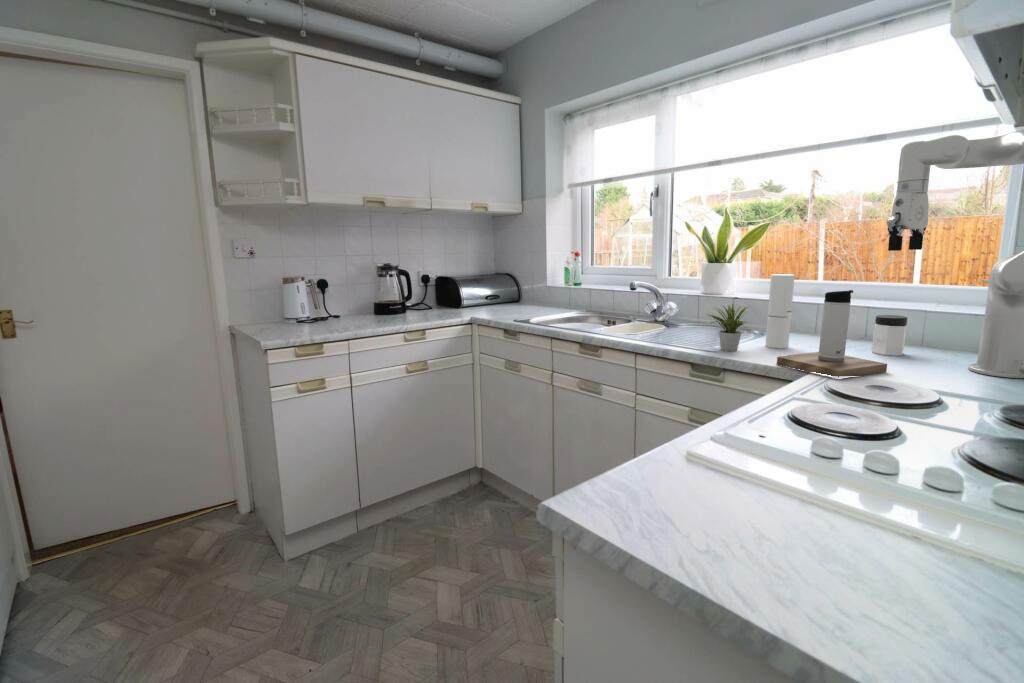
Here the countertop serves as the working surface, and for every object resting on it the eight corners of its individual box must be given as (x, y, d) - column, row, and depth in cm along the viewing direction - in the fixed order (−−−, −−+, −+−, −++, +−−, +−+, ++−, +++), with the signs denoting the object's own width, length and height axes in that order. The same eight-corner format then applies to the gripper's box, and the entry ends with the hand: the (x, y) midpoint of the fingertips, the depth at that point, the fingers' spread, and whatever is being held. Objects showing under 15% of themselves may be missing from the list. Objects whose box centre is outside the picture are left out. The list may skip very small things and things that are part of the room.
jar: (864, 351, 165) (868, 315, 163) (882, 349, 168) (887, 314, 166) (891, 356, 157) (896, 319, 155) (910, 354, 159) (915, 317, 157)
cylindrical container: (793, 347, 174) (799, 274, 169) (777, 349, 171) (784, 275, 166) (775, 343, 180) (781, 273, 176) (760, 345, 178) (766, 274, 173)
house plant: (731, 344, 181) (734, 299, 178) (762, 351, 168) (766, 302, 165) (699, 347, 176) (702, 301, 173) (729, 354, 163) (733, 305, 160)
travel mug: (844, 363, 138) (852, 291, 135) (816, 360, 142) (824, 290, 139) (846, 359, 143) (854, 289, 140) (819, 356, 147) (826, 288, 143)
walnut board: (886, 372, 138) (887, 363, 137) (838, 379, 131) (839, 370, 131) (822, 358, 155) (822, 351, 155) (776, 364, 148) (777, 356, 148)
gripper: (907, 185, 134) (901, 250, 137) (944, 187, 141) (937, 249, 144) (877, 189, 141) (872, 251, 144) (914, 190, 148) (908, 249, 151)
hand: (905, 250), depth 144 cm, fingers open, 9 cm apart
